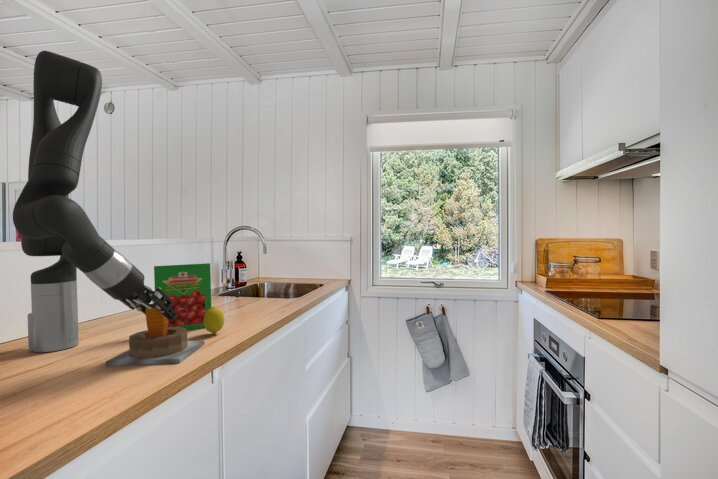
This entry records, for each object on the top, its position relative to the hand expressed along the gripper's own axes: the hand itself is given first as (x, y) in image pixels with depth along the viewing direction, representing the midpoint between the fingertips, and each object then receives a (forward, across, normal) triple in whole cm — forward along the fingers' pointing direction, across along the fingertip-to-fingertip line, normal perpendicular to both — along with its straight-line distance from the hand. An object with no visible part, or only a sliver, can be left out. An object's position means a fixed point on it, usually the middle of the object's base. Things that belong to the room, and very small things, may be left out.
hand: (164, 316), depth 88 cm
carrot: (+4, 0, +7) cm, 8 cm away
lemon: (+18, +1, -6) cm, 19 cm away
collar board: (+5, 0, +7) cm, 9 cm away
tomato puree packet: (+19, +13, -6) cm, 24 cm away
